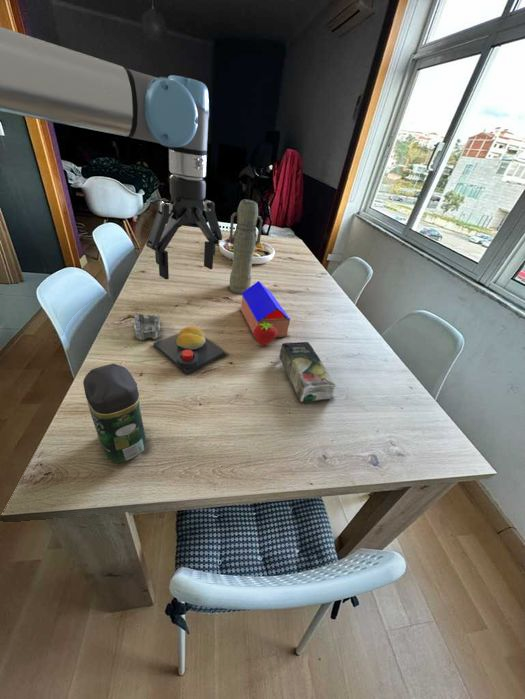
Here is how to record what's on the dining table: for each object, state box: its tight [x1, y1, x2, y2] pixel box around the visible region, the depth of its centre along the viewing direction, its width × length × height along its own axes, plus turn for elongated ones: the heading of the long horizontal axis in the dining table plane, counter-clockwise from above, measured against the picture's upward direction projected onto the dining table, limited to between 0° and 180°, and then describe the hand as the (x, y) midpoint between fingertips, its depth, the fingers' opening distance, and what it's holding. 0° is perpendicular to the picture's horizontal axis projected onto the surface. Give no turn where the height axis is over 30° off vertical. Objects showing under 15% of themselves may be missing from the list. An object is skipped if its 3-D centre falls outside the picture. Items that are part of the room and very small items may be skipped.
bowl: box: [218, 234, 276, 265], centre depth 159 cm, size 30×30×8 cm
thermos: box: [229, 198, 264, 295], centre depth 116 cm, size 9×12×35 cm
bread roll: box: [176, 326, 206, 350], centre depth 88 cm, size 8×9×4 cm
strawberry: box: [253, 321, 277, 347], centre depth 92 cm, size 6×8×10 cm
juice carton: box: [278, 341, 337, 404], centre depth 84 cm, size 20×10×6 cm, turn 16°
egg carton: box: [133, 312, 161, 341], centre depth 91 cm, size 11×8×4 cm
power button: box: [182, 350, 193, 361], centre depth 80 cm, size 3×3×2 cm
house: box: [240, 280, 291, 338], centre depth 104 cm, size 12×20×12 cm, turn 18°
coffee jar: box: [82, 363, 147, 464], centre depth 55 cm, size 10×8×19 cm
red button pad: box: [153, 332, 226, 375], centre depth 87 cm, size 16×14×3 cm
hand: (187, 272), depth 74 cm, fingers open, 13 cm apart
